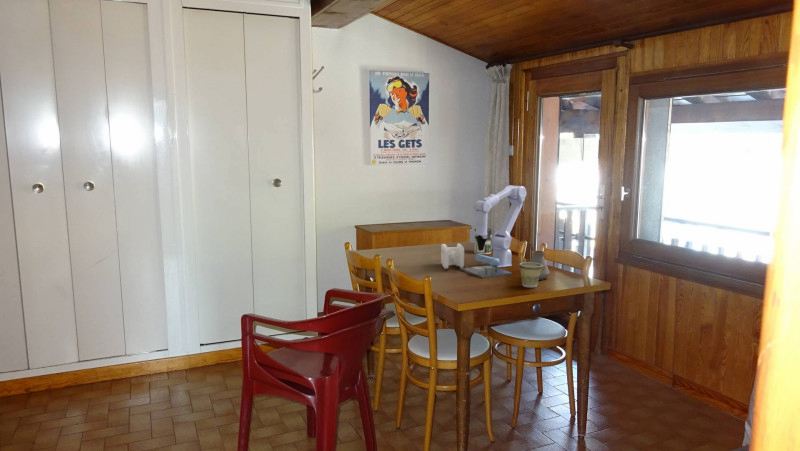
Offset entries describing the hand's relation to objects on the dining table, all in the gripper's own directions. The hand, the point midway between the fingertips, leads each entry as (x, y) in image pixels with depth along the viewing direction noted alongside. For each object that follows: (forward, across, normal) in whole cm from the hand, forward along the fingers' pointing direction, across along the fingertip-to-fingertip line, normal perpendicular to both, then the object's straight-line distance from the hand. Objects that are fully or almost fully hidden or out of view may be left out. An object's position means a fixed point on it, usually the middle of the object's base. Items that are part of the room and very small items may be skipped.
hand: (480, 250), depth 288 cm
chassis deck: (+10, +8, +1) cm, 13 cm away
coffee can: (+10, -42, +13) cm, 45 cm away
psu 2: (+10, +12, -4) cm, 16 cm away
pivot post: (+10, +9, +5) cm, 14 cm away
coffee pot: (+10, +16, +23) cm, 30 cm away
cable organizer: (+10, -6, -14) cm, 18 cm away
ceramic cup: (+10, +35, +15) cm, 39 cm away
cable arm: (+6, +3, +3) cm, 7 cm away
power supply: (+10, +10, +1) cm, 14 cm away
